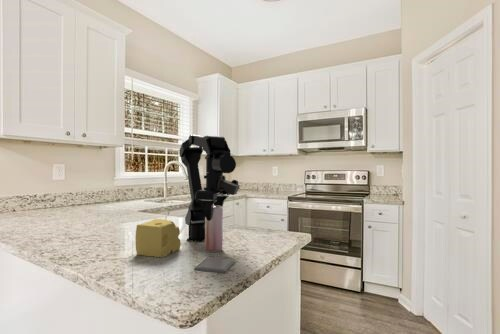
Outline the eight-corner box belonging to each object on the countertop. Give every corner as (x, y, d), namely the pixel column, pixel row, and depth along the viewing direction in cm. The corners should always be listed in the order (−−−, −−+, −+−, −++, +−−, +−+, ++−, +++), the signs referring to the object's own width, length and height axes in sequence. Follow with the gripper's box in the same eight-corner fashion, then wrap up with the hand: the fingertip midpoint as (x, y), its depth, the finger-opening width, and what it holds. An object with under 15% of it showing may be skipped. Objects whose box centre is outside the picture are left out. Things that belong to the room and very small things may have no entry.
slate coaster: (194, 269, 76) (194, 267, 76) (207, 259, 85) (207, 257, 85) (225, 273, 74) (225, 270, 74) (234, 262, 83) (234, 259, 83)
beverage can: (205, 247, 97) (206, 205, 97) (222, 247, 98) (222, 205, 98) (204, 252, 92) (204, 207, 92) (222, 252, 92) (222, 207, 92)
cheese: (180, 249, 95) (180, 220, 95) (161, 259, 85) (161, 226, 85) (155, 246, 99) (155, 218, 99) (133, 255, 89) (134, 224, 89)
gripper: (228, 173, 84) (227, 224, 84) (244, 172, 102) (243, 214, 102) (194, 173, 86) (193, 222, 86) (215, 171, 105) (215, 213, 105)
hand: (214, 217), depth 95 cm, fingers open, 9 cm apart
